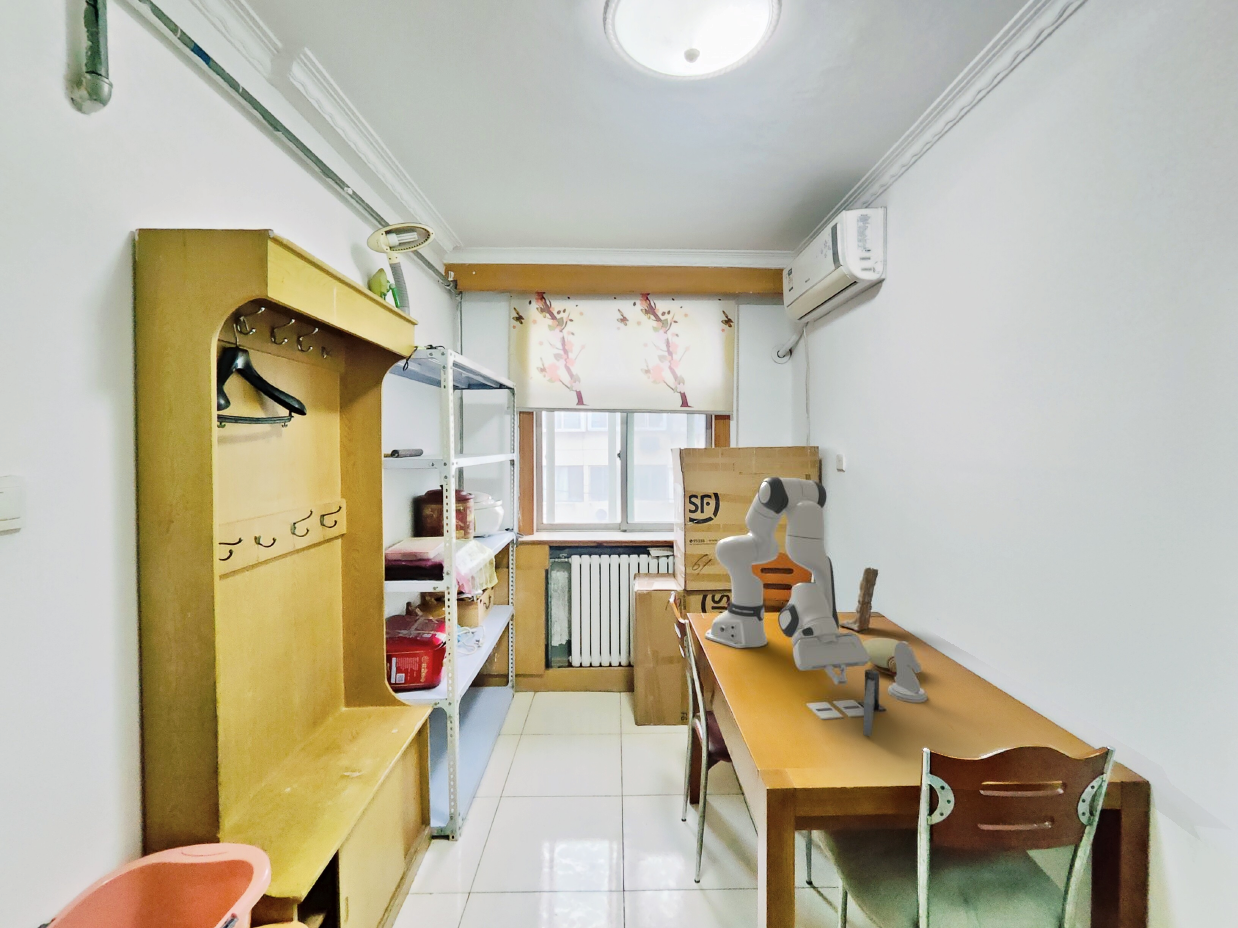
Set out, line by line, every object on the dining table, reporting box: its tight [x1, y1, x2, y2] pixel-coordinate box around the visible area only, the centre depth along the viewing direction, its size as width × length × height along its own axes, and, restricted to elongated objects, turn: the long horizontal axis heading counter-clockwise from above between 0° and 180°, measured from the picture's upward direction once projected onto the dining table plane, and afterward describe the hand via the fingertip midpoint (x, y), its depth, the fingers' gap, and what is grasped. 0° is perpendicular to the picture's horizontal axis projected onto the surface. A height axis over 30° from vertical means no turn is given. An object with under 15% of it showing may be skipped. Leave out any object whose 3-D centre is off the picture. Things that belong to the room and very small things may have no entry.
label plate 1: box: [805, 701, 844, 720], centre depth 144 cm, size 6×8×1 cm
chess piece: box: [887, 640, 928, 703], centre depth 154 cm, size 10×10×15 cm
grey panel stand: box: [863, 669, 880, 737], centre depth 139 cm, size 20×4×9 cm, turn 152°
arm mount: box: [857, 700, 887, 713], centre depth 147 cm, size 5×5×1 cm
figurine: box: [839, 567, 879, 632], centre depth 212 cm, size 12×10×25 cm
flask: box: [862, 637, 901, 676], centre depth 170 cm, size 9×16×18 cm
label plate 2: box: [832, 699, 864, 718], centre depth 146 cm, size 6×8×1 cm
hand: (841, 683), depth 143 cm, fingers closed
